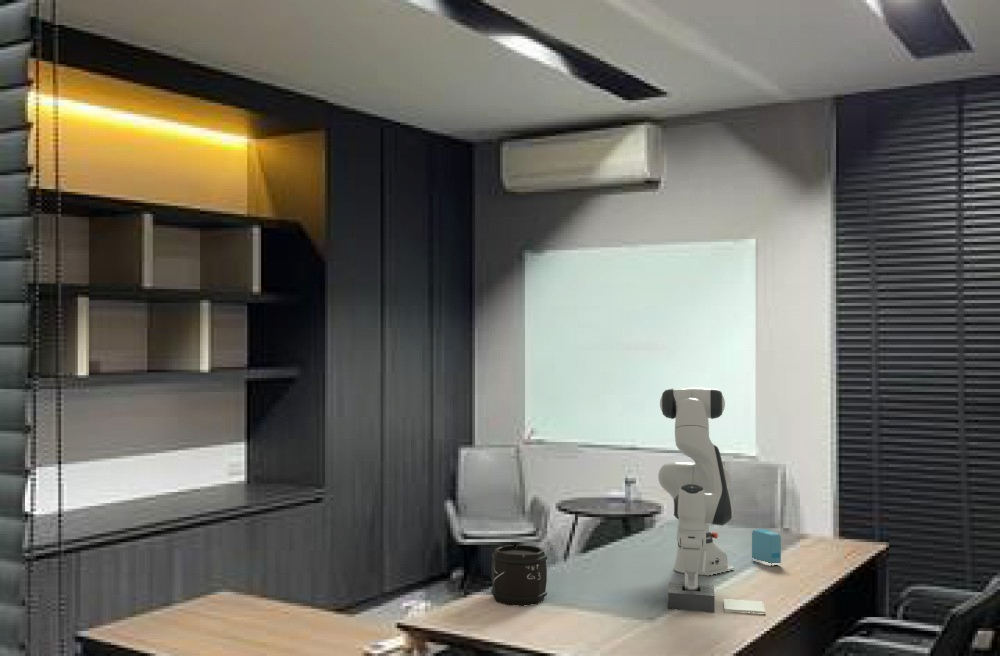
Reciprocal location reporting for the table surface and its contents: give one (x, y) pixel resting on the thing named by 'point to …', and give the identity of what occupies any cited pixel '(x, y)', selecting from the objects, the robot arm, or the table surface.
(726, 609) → the pad
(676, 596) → the block
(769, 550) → the data package
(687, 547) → the robot arm
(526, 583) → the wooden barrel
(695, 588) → the key peg
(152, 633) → the table surface
